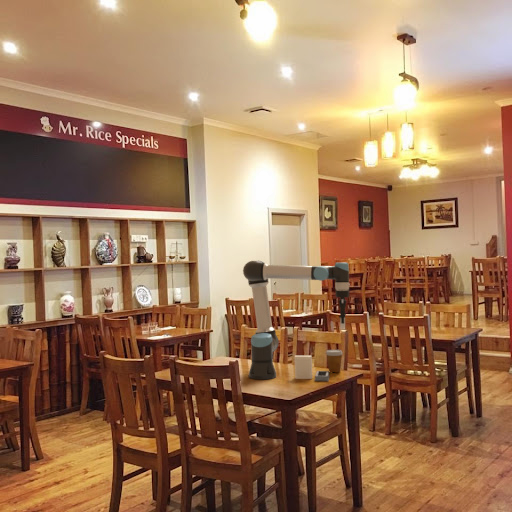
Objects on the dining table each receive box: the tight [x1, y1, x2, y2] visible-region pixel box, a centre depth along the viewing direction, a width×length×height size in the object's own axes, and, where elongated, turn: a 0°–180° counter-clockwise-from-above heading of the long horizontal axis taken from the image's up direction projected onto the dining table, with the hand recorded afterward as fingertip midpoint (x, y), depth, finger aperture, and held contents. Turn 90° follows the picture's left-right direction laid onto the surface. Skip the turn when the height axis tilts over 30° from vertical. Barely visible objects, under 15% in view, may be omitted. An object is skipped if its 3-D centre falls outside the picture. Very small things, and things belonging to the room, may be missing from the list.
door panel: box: [294, 355, 313, 380], centre depth 297 cm, size 9×3×12 cm, turn 80°
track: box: [314, 370, 330, 382], centre depth 296 cm, size 7×14×3 cm, turn 170°
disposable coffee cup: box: [325, 349, 343, 373], centre depth 313 cm, size 10×10×12 cm
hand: (342, 328), depth 307 cm, fingers open, 13 cm apart
